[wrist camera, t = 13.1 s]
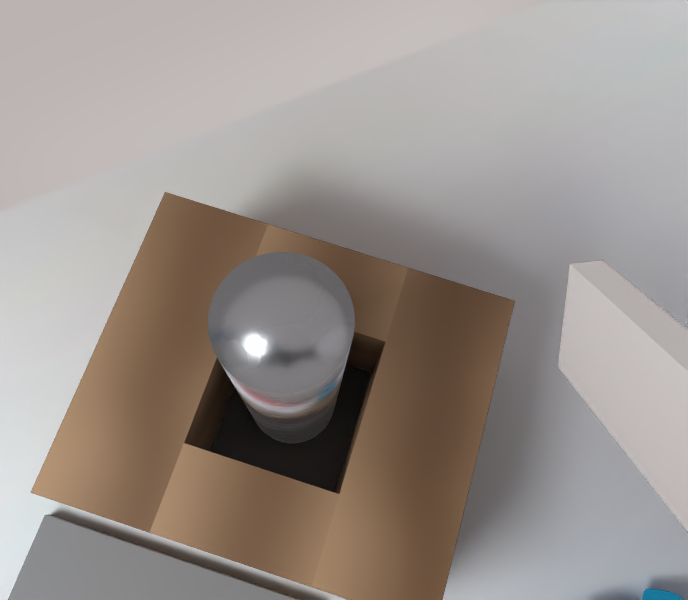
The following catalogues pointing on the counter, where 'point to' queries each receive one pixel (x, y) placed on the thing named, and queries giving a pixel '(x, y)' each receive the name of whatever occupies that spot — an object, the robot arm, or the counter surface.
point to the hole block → (265, 486)
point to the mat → (118, 571)
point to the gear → (660, 595)
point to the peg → (284, 340)
